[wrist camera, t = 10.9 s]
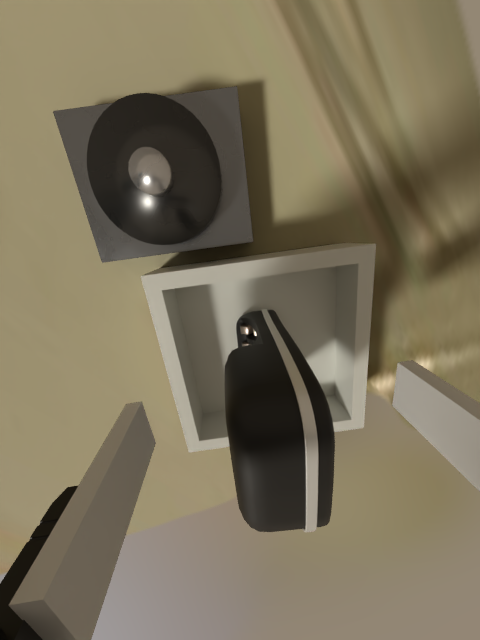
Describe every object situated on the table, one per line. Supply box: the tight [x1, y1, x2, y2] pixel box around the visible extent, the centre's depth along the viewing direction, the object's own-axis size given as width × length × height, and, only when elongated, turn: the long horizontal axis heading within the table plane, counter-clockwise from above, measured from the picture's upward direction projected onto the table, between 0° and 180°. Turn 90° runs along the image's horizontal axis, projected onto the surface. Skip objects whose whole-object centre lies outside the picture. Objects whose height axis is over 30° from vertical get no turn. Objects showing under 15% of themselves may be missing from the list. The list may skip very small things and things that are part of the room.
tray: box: [141, 243, 376, 452], centre depth 18 cm, size 14×14×4 cm
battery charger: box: [224, 309, 335, 532], centre depth 13 cm, size 7×4×11 cm, turn 6°
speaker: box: [53, 86, 253, 263], centre depth 13 cm, size 10×8×4 cm
